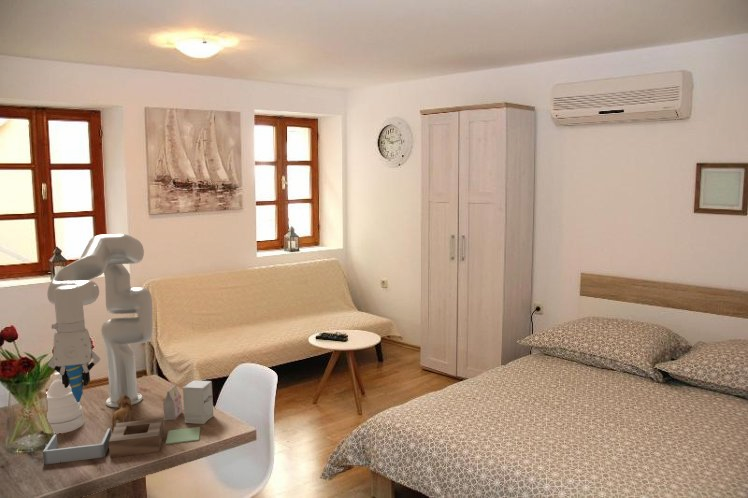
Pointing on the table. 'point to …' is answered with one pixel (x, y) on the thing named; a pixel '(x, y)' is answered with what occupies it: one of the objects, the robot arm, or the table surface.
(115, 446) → the hole deck
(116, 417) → the lion figurine
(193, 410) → the supplement box
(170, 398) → the white printed carton
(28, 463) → the table surface
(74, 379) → the ornament
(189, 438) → the mat
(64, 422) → the honey pot
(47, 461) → the grey arch frame
